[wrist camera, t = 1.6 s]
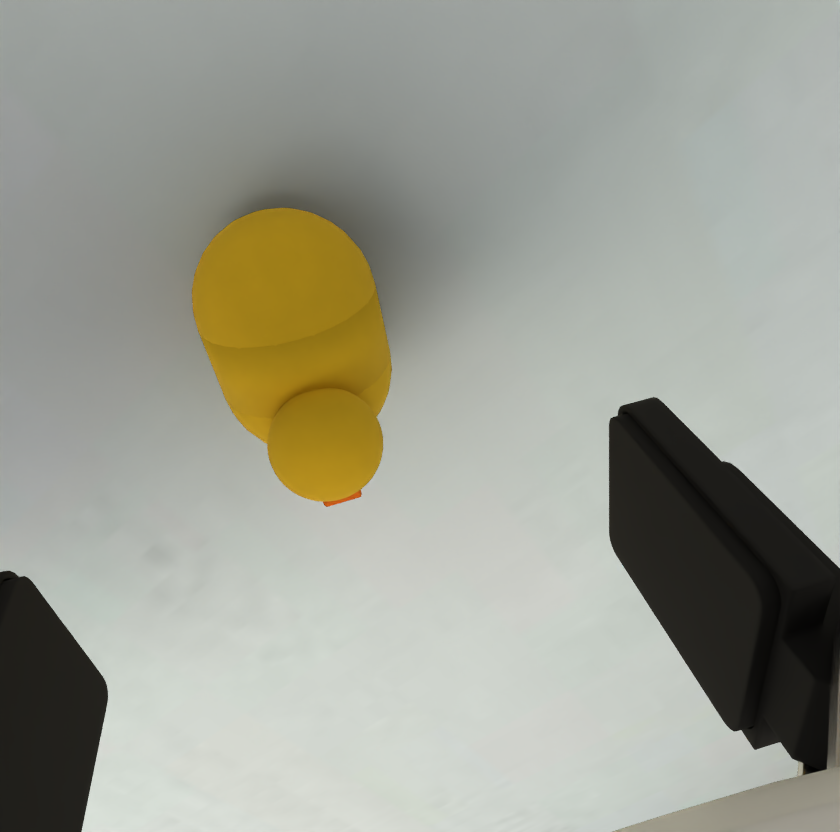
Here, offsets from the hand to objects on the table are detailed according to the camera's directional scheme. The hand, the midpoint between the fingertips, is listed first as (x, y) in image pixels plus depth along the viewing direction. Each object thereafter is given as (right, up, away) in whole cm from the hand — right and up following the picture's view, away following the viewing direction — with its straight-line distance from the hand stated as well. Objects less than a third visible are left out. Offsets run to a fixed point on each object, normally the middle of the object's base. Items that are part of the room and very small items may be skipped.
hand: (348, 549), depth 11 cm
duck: (-3, +5, +9) cm, 11 cm away
